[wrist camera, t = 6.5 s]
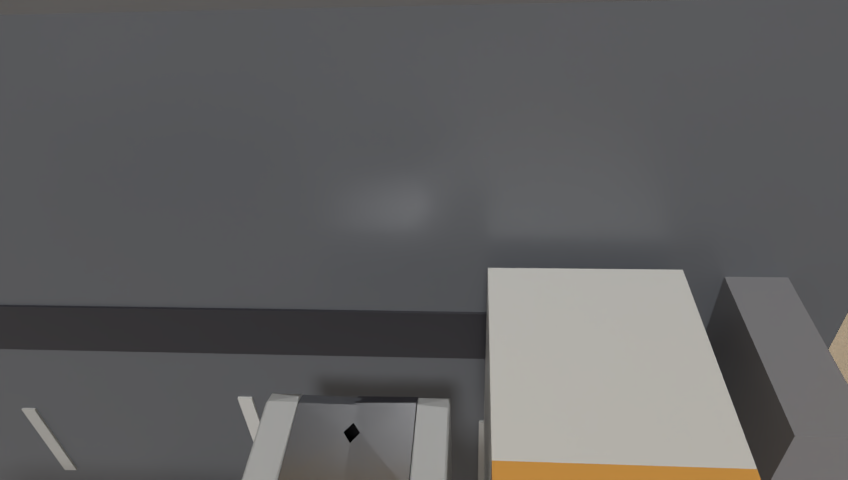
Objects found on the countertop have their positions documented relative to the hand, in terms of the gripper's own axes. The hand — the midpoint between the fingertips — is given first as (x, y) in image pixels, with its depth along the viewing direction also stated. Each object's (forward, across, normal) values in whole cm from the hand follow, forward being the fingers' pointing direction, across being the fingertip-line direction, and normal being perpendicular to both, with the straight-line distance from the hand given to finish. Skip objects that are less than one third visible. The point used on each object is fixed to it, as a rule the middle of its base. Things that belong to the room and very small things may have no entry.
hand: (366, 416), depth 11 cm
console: (+4, +3, +7) cm, 8 cm away
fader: (+1, -4, 0) cm, 4 cm away
